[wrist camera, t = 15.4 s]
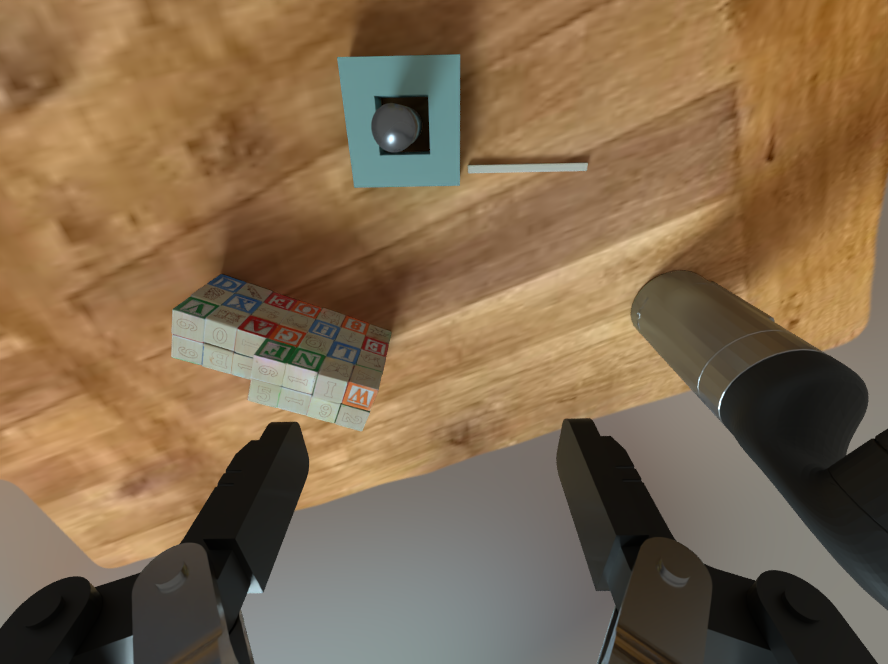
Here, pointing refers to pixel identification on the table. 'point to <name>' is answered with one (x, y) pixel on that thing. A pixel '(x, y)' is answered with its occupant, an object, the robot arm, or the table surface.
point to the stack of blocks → (283, 349)
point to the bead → (402, 79)
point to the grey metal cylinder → (396, 126)
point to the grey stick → (527, 167)
